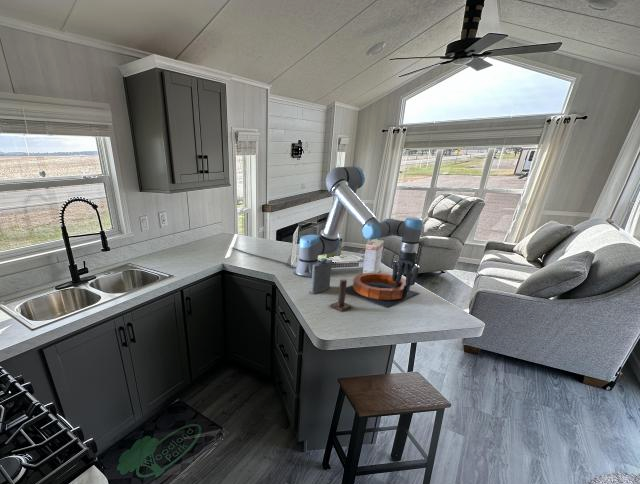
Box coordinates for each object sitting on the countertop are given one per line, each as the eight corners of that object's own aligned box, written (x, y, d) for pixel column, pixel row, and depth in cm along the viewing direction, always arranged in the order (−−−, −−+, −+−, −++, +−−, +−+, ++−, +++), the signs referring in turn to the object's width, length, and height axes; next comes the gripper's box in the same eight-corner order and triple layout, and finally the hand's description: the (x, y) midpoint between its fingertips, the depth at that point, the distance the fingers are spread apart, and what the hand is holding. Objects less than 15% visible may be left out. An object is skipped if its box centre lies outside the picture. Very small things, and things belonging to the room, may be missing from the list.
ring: (342, 288, 179) (343, 279, 177) (372, 277, 192) (373, 269, 190) (387, 304, 158) (389, 294, 156) (417, 290, 172) (419, 282, 170)
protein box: (314, 260, 230) (315, 239, 224) (329, 256, 238) (330, 235, 232) (325, 264, 222) (327, 241, 216) (340, 260, 230) (342, 238, 224)
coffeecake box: (368, 268, 211) (372, 239, 203) (380, 270, 207) (384, 240, 199) (361, 275, 200) (365, 244, 192) (373, 277, 196) (378, 245, 188)
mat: (340, 290, 179) (340, 289, 179) (371, 279, 193) (372, 278, 193) (387, 307, 158) (387, 306, 158) (418, 293, 172) (418, 292, 172)
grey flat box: (331, 287, 183) (334, 256, 176) (315, 294, 175) (317, 262, 168) (326, 286, 186) (329, 255, 178) (309, 292, 178) (311, 260, 170)
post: (330, 306, 161) (332, 279, 155) (339, 302, 164) (342, 276, 159) (341, 311, 155) (344, 284, 150) (351, 307, 159) (354, 280, 153)
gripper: (388, 249, 161) (381, 293, 170) (421, 255, 148) (411, 302, 158) (397, 246, 164) (390, 289, 174) (429, 253, 152) (420, 299, 162)
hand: (400, 295), depth 166 cm, fingers closed on ring, 3 cm apart
